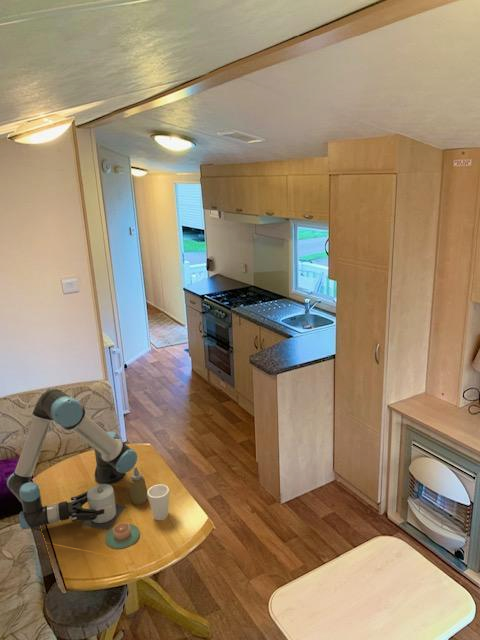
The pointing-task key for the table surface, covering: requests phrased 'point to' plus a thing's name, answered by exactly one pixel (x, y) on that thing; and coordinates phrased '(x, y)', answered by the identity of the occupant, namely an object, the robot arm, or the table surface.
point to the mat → (106, 524)
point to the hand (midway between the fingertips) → (110, 499)
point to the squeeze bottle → (137, 488)
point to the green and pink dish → (122, 536)
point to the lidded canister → (102, 501)
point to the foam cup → (159, 501)
